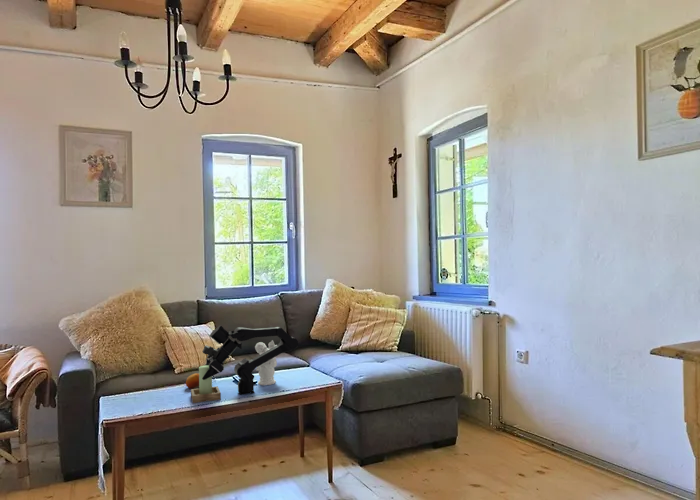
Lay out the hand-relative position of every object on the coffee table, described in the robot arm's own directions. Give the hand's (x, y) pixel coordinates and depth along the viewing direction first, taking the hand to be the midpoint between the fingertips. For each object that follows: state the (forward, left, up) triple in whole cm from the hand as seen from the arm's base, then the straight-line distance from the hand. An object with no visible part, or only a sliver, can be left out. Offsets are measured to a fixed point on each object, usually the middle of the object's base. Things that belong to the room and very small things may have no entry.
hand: (202, 377), depth 232 cm
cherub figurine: (-34, -14, -10) cm, 38 cm away
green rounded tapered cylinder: (-2, 0, -9) cm, 9 cm away
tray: (-1, 0, -10) cm, 10 cm away
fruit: (+2, -21, -10) cm, 23 cm away
